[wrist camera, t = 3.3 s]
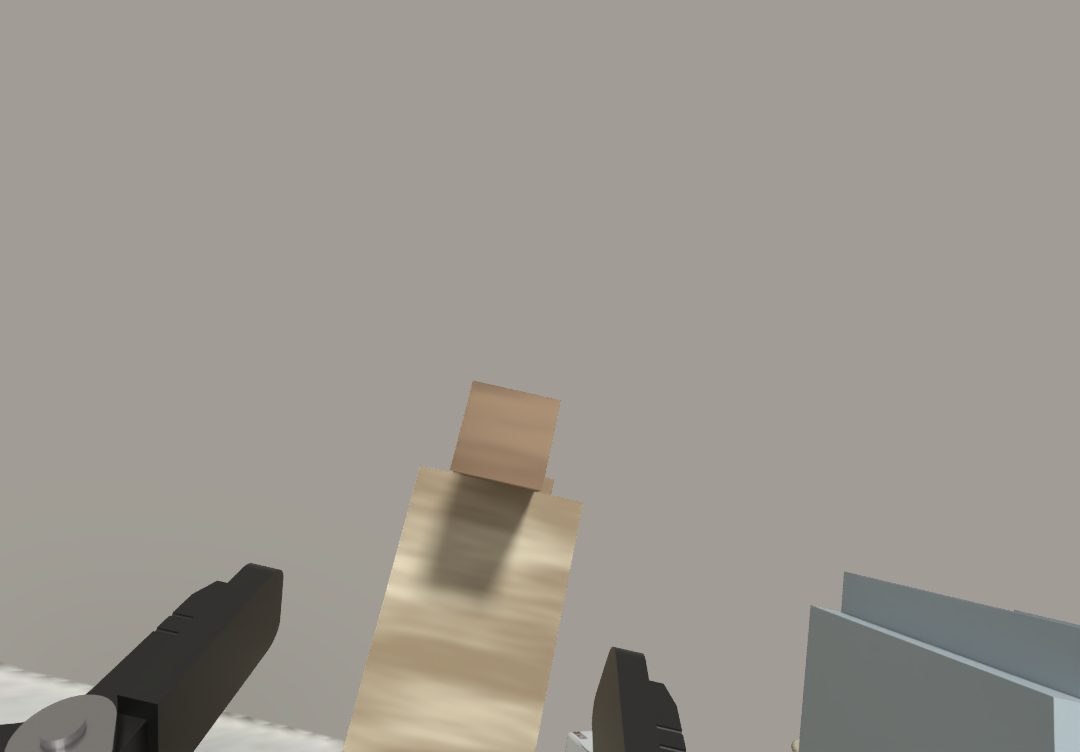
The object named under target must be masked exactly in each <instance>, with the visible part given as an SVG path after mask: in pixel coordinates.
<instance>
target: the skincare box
mask: <svg viewBox="0 0 1080 752" xmlns="http://www.w3.org/2000/svg"><path fill="white" fill-rule="evenodd" d="M565 752H593V738H592V731H584V732H583V731H582V732H570V733H568V735H567V742H566V750H565Z"/></svg>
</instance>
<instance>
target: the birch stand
mask: <svg viewBox="0 0 1080 752" xmlns="http://www.w3.org/2000/svg"><path fill="white" fill-rule="evenodd" d="M553 483H554V479H550V478H545V477H544V482H543V487H542V491H535V492H534V491H530V490H525V489H521V488H516V487H512V486H507V485H503V484H499V483H494V482H490V481H485V480H481V479H476V478H472V477H468V476H465V475H463V474H460V473H457V472H453V473H450V472H445V471H441V470H437V469H432V468H428V467H423V466H420V469H419V472H418V476H417V480H416V483H415V487H414V491H413V494H412V498H411V502H410V505H409V509H408V513H407V516H406V520H405V524H404V528H403V531H402V535H401V539H400V542H399V546H398V550H397V553H396V557H395V561H394V564H393V568H392V572H391V575H390V579H389V583H388V586H387V590H386V594H385V597H384V601H383V605H382V609H381V612H380V616H379V619H378V623H377V627H376V630H375V634H374V638H373V641H372V645H371V649H370V652H369V656H368V660H367V663H366V667H365V671H364V674H363V678H362V682H361V686H360V689H359V693H358V696H357V700H356V704H355V707H354V711H353V715H352V718H351V722H350V726H349V729H348V733H347V737H346V740H345V744H344V748H343V751H342V752H535V748H536V743H537V738H538V733H539V728H540V723H541V717H542V712H543V707H544V702H545V696H546V691H547V686H548V681H549V675H550V671H551V666H552V660H553V655H554V650H555V645H556V640H557V634H558V629H559V623H560V618H561V614H562V608H563V603H564V598H565V593H566V588H567V583H568V576H569V571H570V567H571V562H572V557H573V551H574V546H575V541H576V536H577V530H578V526H579V520H580V515H581V510H582V505H583V503H582V502H578V501H574V500H569V499H565V498H561V497H556V496H552V495H551V493H552V488H553Z"/></svg>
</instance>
